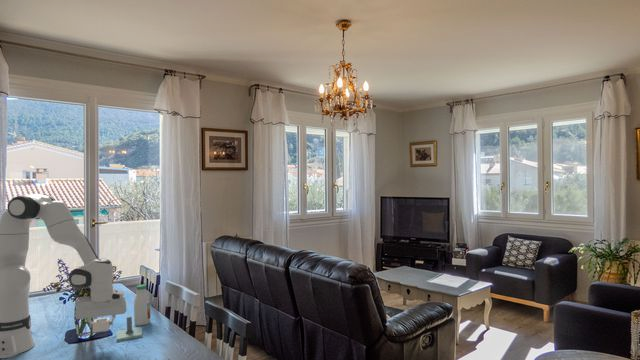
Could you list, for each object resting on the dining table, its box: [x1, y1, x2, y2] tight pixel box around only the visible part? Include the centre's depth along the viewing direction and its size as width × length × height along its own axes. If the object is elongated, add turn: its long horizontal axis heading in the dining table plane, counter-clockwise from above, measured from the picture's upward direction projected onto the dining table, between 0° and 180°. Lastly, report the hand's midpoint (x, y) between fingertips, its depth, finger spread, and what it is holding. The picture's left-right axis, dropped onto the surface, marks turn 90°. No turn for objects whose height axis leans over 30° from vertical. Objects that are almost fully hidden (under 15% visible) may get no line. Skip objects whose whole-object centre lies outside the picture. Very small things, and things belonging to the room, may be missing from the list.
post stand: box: [116, 316, 143, 342], centre depth 194 cm, size 11×11×9 cm
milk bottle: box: [133, 284, 151, 327], centre depth 209 cm, size 8×8×20 cm
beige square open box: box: [92, 317, 111, 333], centre depth 180 cm, size 6×6×4 cm
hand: (101, 325), depth 180 cm, fingers closed on beige square open box, 6 cm apart
